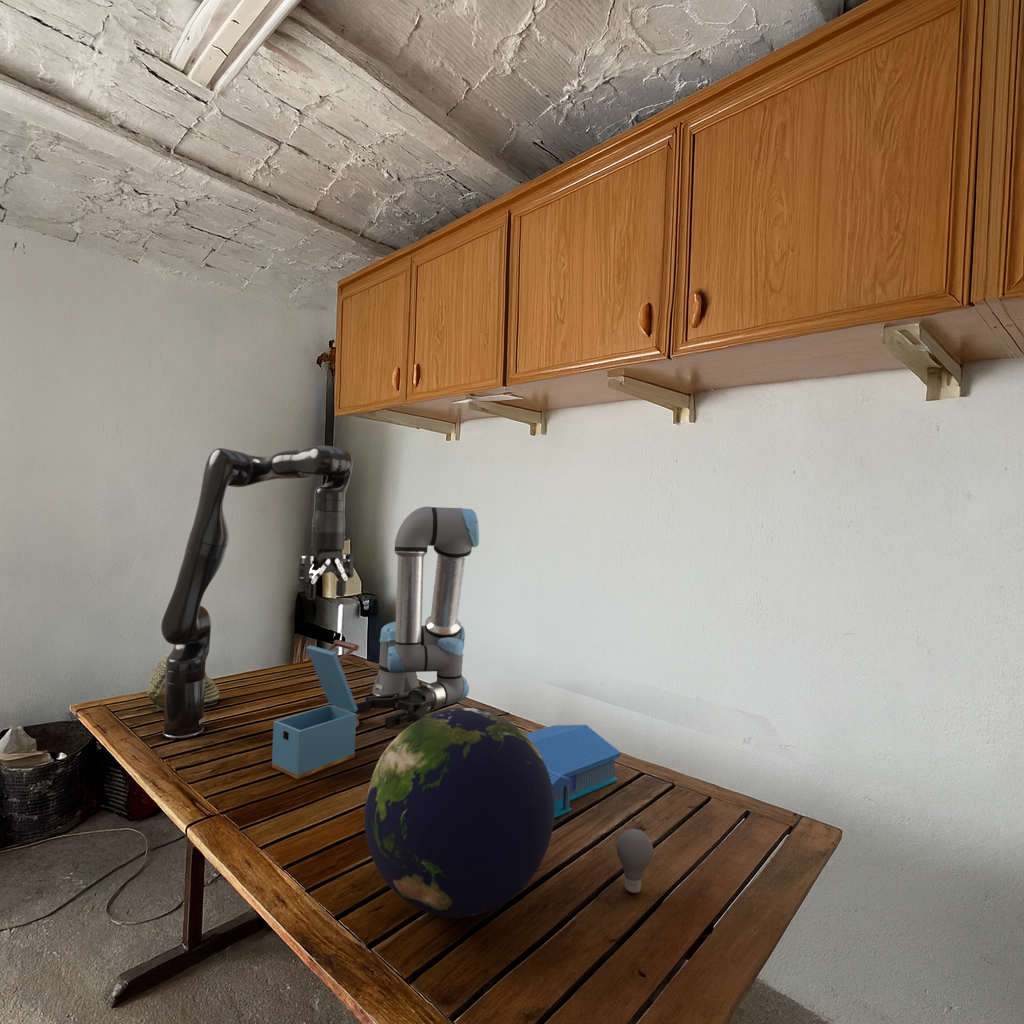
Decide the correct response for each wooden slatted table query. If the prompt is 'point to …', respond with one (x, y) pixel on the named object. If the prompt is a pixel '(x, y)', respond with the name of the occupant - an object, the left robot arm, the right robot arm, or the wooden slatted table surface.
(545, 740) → the model building
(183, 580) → the left robot arm
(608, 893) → the wooden slatted table surface
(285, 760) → the chest
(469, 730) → the globe
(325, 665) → the lid
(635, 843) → the light bulb
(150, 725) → the wooden slatted table surface
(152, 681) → the fossil
